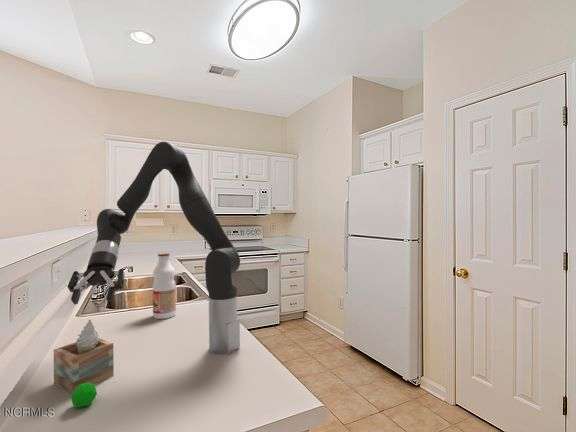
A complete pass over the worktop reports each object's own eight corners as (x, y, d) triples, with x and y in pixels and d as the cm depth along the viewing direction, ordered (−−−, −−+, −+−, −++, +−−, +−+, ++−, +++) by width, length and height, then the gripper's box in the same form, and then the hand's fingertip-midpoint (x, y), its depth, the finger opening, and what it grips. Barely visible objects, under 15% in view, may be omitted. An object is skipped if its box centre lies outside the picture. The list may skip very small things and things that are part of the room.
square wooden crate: (113, 375, 84) (113, 343, 84) (73, 394, 75) (73, 357, 75) (93, 367, 88) (93, 336, 89) (53, 383, 80) (53, 349, 80)
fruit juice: (170, 319, 130) (169, 254, 130) (148, 319, 130) (148, 254, 130) (179, 312, 139) (178, 251, 139) (159, 312, 139) (158, 252, 140)
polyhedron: (88, 411, 68) (88, 390, 68) (66, 412, 68) (65, 391, 68) (101, 398, 73) (100, 378, 73) (79, 399, 73) (79, 379, 73)
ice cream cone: (71, 375, 78) (77, 324, 76) (74, 362, 83) (80, 313, 80) (93, 373, 81) (100, 323, 78) (95, 360, 85) (102, 312, 83)
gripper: (75, 251, 94) (58, 297, 83) (126, 249, 98) (116, 292, 87) (82, 265, 99) (67, 310, 88) (130, 263, 103) (121, 306, 92)
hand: (91, 301), depth 88 cm, fingers open, 8 cm apart
